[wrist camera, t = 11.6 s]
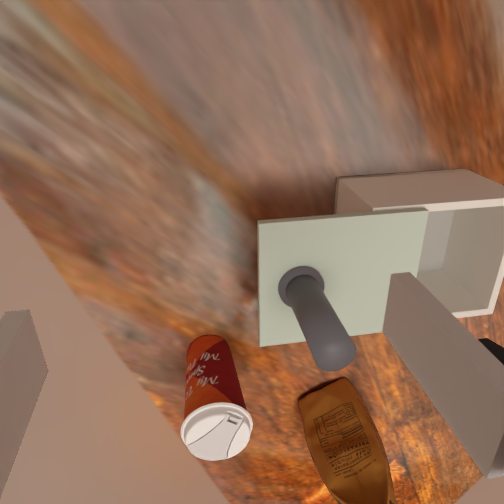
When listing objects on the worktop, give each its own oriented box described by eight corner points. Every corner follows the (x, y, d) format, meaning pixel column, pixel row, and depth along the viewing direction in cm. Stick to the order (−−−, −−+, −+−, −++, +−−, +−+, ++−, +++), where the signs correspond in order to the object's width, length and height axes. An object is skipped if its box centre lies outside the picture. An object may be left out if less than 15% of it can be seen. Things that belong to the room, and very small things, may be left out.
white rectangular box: (336, 176, 48) (373, 208, 39) (465, 168, 50) (527, 196, 41) (328, 282, 54) (358, 329, 46) (442, 271, 57) (492, 313, 48)
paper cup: (199, 319, 54) (206, 403, 41) (248, 341, 57) (268, 426, 44) (168, 362, 56) (166, 453, 44) (216, 381, 59) (227, 472, 47)
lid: (257, 220, 38) (285, 282, 28) (424, 207, 40) (503, 260, 30) (258, 341, 44) (281, 426, 34) (403, 324, 46) (462, 399, 36)
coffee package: (310, 444, 68) (364, 605, 49) (289, 393, 62) (340, 554, 43) (368, 422, 68) (445, 575, 49) (352, 369, 62) (432, 519, 43)
